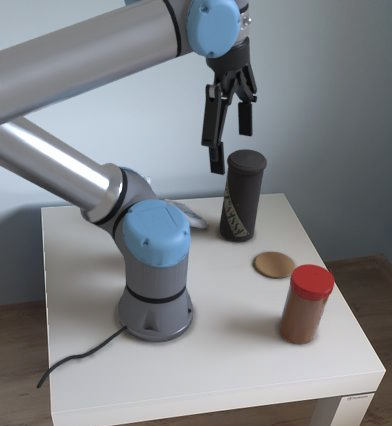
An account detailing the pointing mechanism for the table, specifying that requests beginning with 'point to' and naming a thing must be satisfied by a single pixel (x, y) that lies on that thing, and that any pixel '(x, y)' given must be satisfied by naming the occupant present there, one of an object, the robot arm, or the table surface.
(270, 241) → the table surface
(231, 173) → the container
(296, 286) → the jar lid
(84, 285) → the table surface
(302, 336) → the sauce jar
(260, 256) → the coaster
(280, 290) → the table surface
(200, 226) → the button
